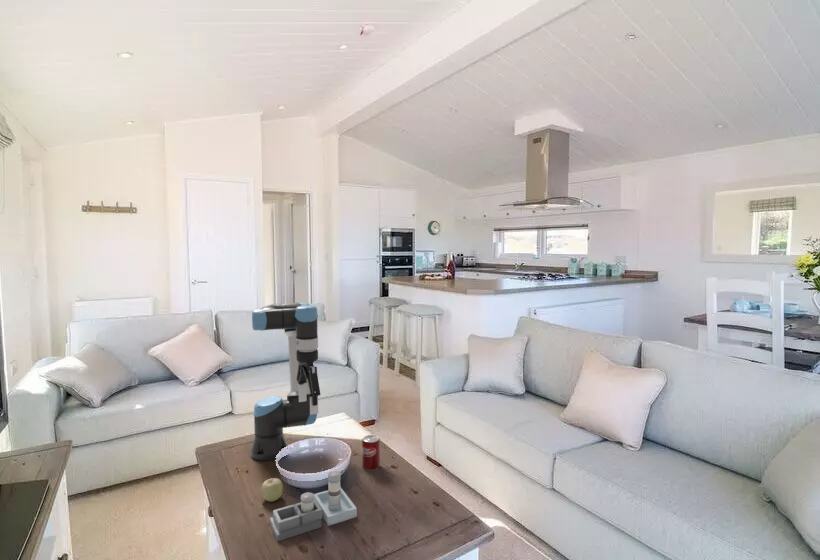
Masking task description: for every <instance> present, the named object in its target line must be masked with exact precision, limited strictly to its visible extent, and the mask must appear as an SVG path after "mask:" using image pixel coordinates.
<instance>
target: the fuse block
mask: <svg viewBox="0 0 820 560" xmlns="http://www.w3.org/2000/svg"><path fill="white" fill-rule="evenodd" d="M314 494H315V493H313V492H310V491H309V492H304V493H302V494H301V495H300V502H297V503H294V504H291V505H287V506H284V507H280V508H276V509H273V510H272V517H269V525H270V527H271V530H272V532H273V535H274V536H275V539H276V542H281V541H282V540H287V539H289V538H292V537H295V536H299V535H301V534H302V535H303V534H305V533H307V532H310V531H311V532H312V531H315V530H317V529H320V528H322V526H323V525H322V520H321V519H323V517H322V509H321V507H320V506H319V504H318V502H317V501H316V499H315V498H314Z"/></svg>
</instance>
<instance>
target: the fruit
mask: <svg viewBox="0 0 820 560" xmlns="http://www.w3.org/2000/svg"><path fill="white" fill-rule="evenodd" d="M283 485H284V484H283V483H282V481H281V480H280V479H279V478H278V477H277V478H276V477H275V478H274V477H271V478H269V479H266V480H265V481H264V482H263V483H262V485H261V488H260V490H261V492H260V493H261V495H262V497H263V499H264V500H266V501H267V502H271V503H272V502H275V501H277V500H278V499H280V497H281V496H282V493H283V490H284V486H283Z"/></svg>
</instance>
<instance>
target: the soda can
mask: <svg viewBox="0 0 820 560" xmlns="http://www.w3.org/2000/svg"><path fill="white" fill-rule="evenodd" d="M361 465H362V468H363V470H364V471H367V472H374V471H377V470H378V469H379V468H380V467H381V439H380V437H379V436H378V435H376V434H375V435H374V434H368V435H365V436H364V437H363V438H362V439H361Z"/></svg>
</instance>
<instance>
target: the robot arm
mask: <svg viewBox="0 0 820 560" xmlns="http://www.w3.org/2000/svg"><path fill="white" fill-rule="evenodd" d="M318 318H319V315H318V308H317V306H315V305H310V304H309V303H308V302H286V303H273V304H269V305H264V306H263V307H261V308H259V309H255V310H253V311H252V312H251V325H252V327H251V328H252V330H253V331H260V332H261V331H262V332H263V331H272V330H273V331H274V330H283V331H284V335H286V336H287V338H288V362H289V363H288V364H289V365H288V366H289V388H290V391H289V393H287V395H286V399H283V398H282V397H281V396H278V395H277V396H276V395H272V396H267V397H265V398H262V399H260V400H258V401H257V402H256V403H255V404H254V406H253V417H254V418H253V420H254V421H253V425H254V437H253V441H252V445H251V448H250V456H251V458H252V459H254V460H256V461H273V460H276V459H275V457H276V455H277V454H278V453H279V451H281V449H282V448H284V447H286V446H287V447H288V443H287V440H286V437H285V435H284V429H286V428H293V427H295V428H296V427H303V426H304V427H305V426H309V425H313V424H315V423H316V421H317V417H318V414H319V396H321V390H320V382H319V375H318V367H317V366H315V365H314V362H316V361H318V359H319V350H318V348H319V336H318Z"/></svg>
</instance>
